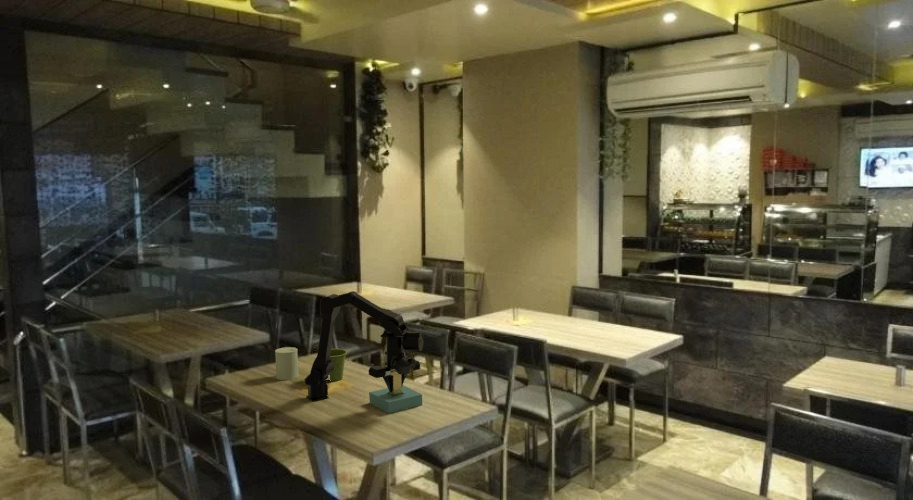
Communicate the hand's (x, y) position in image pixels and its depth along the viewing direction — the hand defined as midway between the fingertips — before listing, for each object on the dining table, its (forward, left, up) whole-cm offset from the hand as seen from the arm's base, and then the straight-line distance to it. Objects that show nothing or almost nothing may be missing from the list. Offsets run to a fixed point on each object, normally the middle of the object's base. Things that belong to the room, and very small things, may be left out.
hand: (395, 391), depth 236 cm
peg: (0, 0, -2) cm, 2 cm away
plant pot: (-5, +42, -5) cm, 43 cm away
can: (-19, +57, -5) cm, 60 cm away
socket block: (0, 0, -5) cm, 5 cm away
